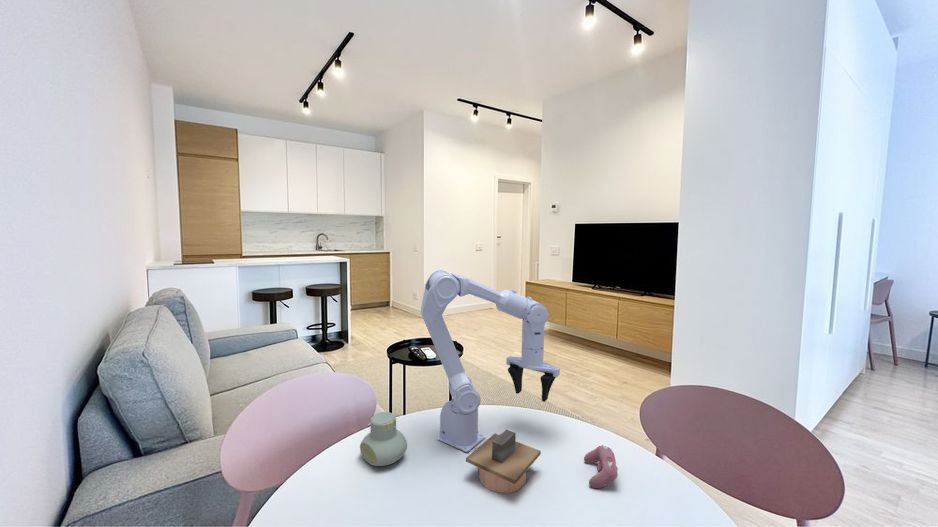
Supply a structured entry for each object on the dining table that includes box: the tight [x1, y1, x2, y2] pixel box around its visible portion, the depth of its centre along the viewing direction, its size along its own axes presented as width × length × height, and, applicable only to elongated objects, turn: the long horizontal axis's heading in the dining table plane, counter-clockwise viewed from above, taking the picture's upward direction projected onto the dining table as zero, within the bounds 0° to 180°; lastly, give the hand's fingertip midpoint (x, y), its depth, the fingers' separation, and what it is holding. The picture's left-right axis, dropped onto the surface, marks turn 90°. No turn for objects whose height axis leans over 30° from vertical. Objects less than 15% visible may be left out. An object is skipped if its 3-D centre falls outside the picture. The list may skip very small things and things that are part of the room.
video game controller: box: [583, 444, 619, 489], centre depth 81 cm, size 10×5×7 cm, turn 170°
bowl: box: [478, 468, 527, 494], centre depth 81 cm, size 10×10×4 cm
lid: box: [465, 429, 542, 484], centre depth 81 cm, size 12×12×5 cm
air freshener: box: [359, 411, 408, 467], centre depth 86 cm, size 11×8×10 cm
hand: (531, 396), depth 98 cm, fingers open, 7 cm apart
